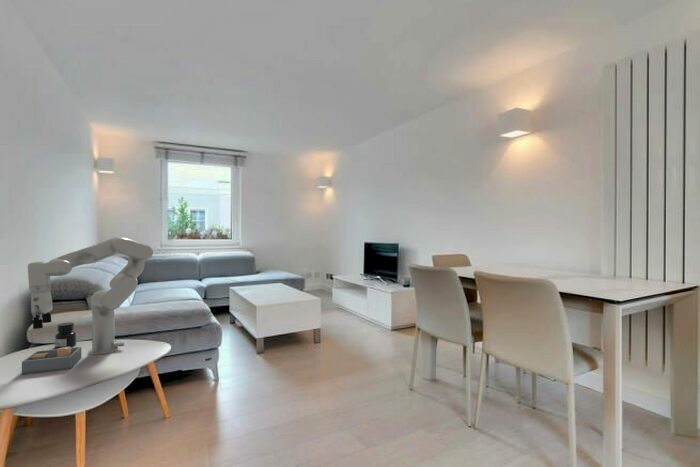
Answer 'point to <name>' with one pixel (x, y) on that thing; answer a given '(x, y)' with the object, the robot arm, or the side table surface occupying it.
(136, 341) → the side table surface
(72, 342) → the ink bottle
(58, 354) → the peach domed capsule
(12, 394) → the side table surface
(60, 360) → the tote
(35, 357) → the walnut cube
